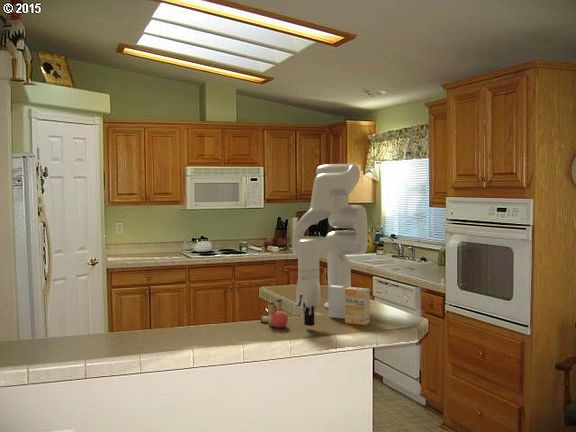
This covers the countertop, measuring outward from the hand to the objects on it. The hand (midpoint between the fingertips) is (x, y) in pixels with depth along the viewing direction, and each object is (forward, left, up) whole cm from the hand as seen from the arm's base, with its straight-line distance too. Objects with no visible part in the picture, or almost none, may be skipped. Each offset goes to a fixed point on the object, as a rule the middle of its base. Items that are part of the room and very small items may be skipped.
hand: (309, 325), depth 212 cm
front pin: (0, -12, 0) cm, 12 cm away
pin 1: (+2, -15, -2) cm, 15 cm away
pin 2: (-2, -14, -2) cm, 15 cm away
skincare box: (-21, 0, -2) cm, 21 cm away
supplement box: (-16, +11, -2) cm, 19 cm away
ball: (+3, -10, +2) cm, 11 cm away
